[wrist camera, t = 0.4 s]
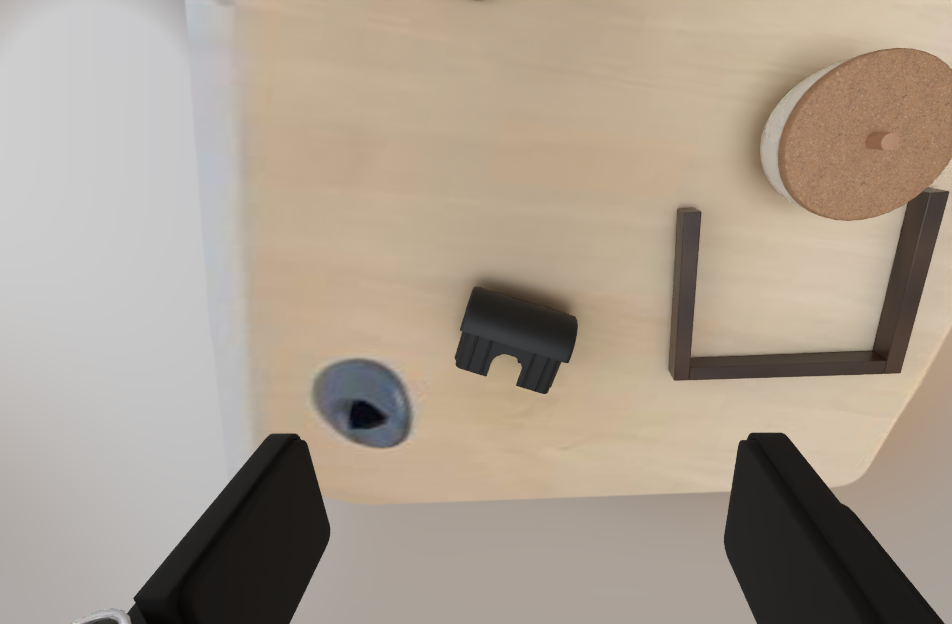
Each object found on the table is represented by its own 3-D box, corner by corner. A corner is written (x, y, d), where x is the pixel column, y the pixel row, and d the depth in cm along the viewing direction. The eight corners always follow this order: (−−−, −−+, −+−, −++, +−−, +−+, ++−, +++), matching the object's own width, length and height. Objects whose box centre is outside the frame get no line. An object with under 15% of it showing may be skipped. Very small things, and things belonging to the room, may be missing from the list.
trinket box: (719, 192, 40) (771, 213, 31) (766, 52, 36) (840, 31, 27) (846, 211, 39) (934, 237, 31) (909, 71, 35) (1031, 56, 27)
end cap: (574, 304, 45) (581, 333, 39) (550, 364, 48) (553, 400, 42) (477, 274, 45) (468, 299, 39) (459, 336, 48) (448, 368, 42)
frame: (677, 208, 41) (684, 212, 39) (930, 187, 38) (950, 191, 36) (668, 370, 47) (673, 380, 45) (885, 362, 44) (900, 373, 42)
